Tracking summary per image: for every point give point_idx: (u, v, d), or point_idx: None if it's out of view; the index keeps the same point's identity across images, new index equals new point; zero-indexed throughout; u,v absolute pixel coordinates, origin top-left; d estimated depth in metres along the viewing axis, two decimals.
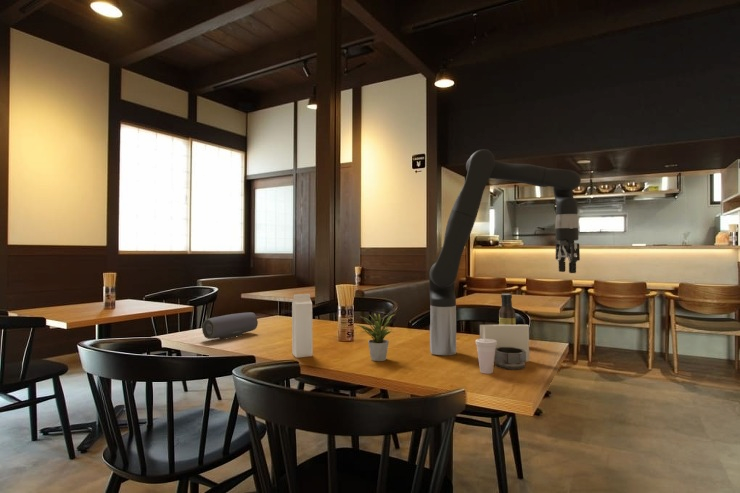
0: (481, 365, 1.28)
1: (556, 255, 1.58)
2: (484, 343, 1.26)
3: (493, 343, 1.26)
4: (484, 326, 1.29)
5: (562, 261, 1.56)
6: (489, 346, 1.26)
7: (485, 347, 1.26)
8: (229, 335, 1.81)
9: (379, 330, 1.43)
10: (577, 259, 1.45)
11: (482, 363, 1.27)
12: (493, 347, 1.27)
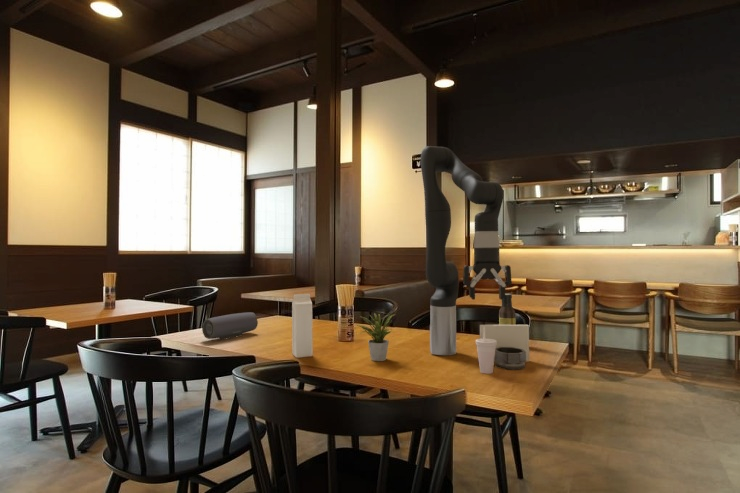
0: (481, 365, 1.28)
1: (467, 280, 1.28)
2: (484, 343, 1.26)
3: (493, 343, 1.26)
4: (484, 326, 1.29)
5: None
6: (489, 346, 1.26)
7: (485, 347, 1.26)
8: (229, 335, 1.81)
9: (379, 330, 1.43)
10: None
11: (482, 363, 1.27)
12: (493, 347, 1.27)
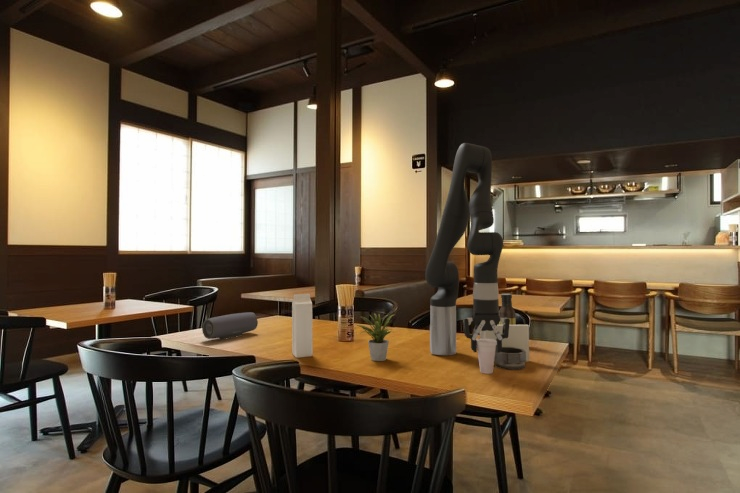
0: (481, 365, 1.28)
1: (468, 332, 1.28)
2: (484, 343, 1.26)
3: (493, 343, 1.26)
4: None
5: (475, 339, 1.29)
6: (489, 346, 1.26)
7: (485, 347, 1.26)
8: (229, 335, 1.81)
9: (379, 330, 1.43)
10: None
11: (482, 363, 1.27)
12: (493, 347, 1.27)
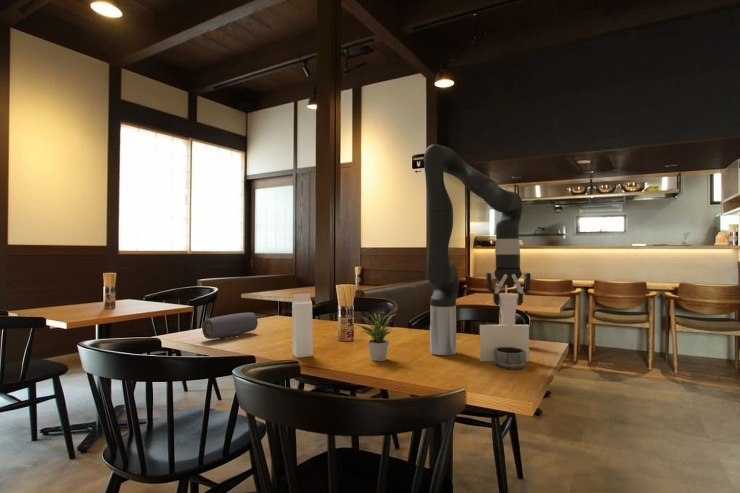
0: (503, 317, 1.34)
1: (491, 286, 1.35)
2: (506, 296, 1.33)
3: (515, 296, 1.33)
4: None
5: None
6: (511, 299, 1.32)
7: (507, 300, 1.33)
8: (229, 335, 1.81)
9: (379, 330, 1.43)
10: None
11: (504, 316, 1.34)
12: (515, 300, 1.33)
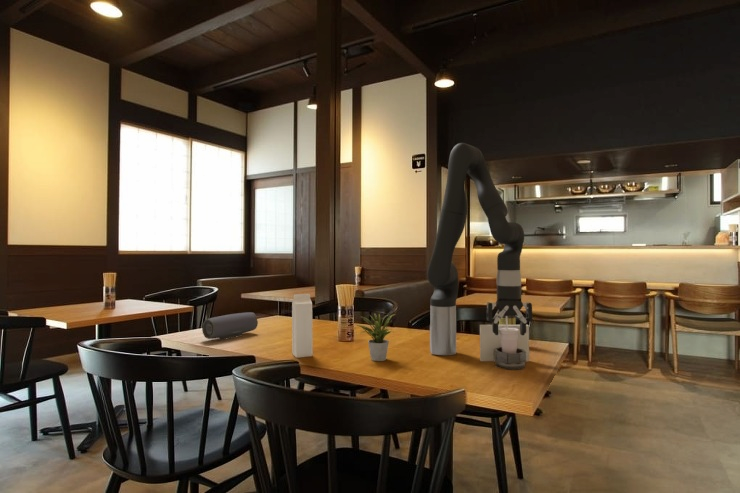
0: None
1: (491, 316, 1.35)
2: (507, 331, 1.33)
3: (516, 331, 1.33)
4: (506, 316, 1.36)
5: None
6: (512, 334, 1.33)
7: (508, 335, 1.33)
8: (229, 335, 1.81)
9: (379, 330, 1.43)
10: None
11: (506, 351, 1.34)
12: (516, 335, 1.33)
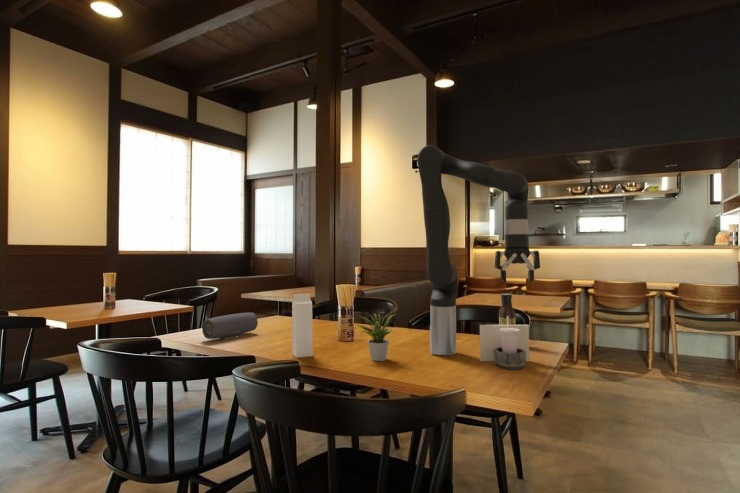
0: None
1: (499, 264, 1.40)
2: (508, 332, 1.33)
3: (516, 332, 1.33)
4: (508, 316, 1.35)
5: None
6: (513, 334, 1.33)
7: (509, 335, 1.33)
8: (229, 335, 1.81)
9: (379, 330, 1.43)
10: None
11: (506, 351, 1.34)
12: (516, 335, 1.33)
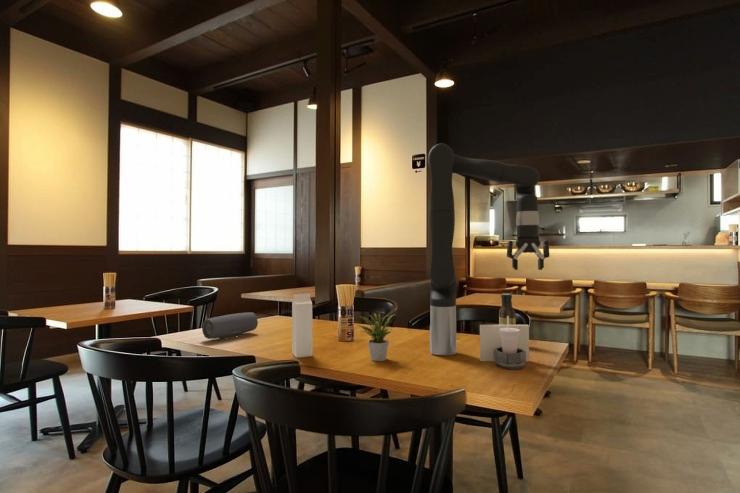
0: None
1: (511, 253, 1.49)
2: (508, 332, 1.33)
3: (517, 332, 1.33)
4: (508, 316, 1.35)
5: None
6: (513, 335, 1.33)
7: (509, 335, 1.33)
8: (229, 335, 1.81)
9: (379, 330, 1.43)
10: None
11: (506, 351, 1.34)
12: (516, 336, 1.33)
